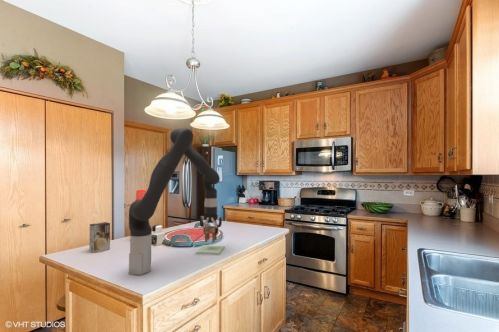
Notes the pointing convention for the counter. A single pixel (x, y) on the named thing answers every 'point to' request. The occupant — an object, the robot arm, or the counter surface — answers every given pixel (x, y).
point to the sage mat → (210, 249)
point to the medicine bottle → (157, 235)
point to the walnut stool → (207, 233)
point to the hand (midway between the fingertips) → (210, 233)
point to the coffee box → (99, 237)
